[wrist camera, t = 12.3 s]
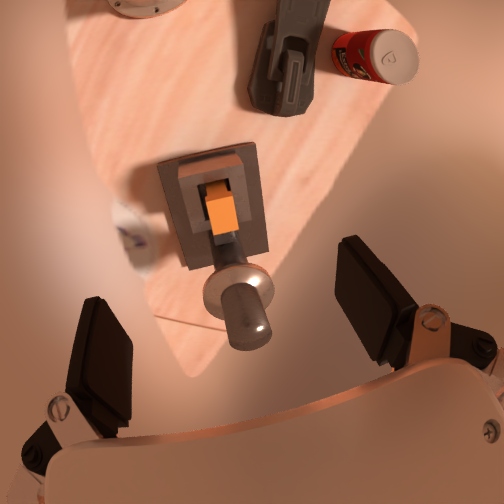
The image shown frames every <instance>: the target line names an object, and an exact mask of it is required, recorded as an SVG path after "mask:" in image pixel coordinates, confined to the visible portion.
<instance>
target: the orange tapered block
mask: <svg viewBox="0 0 504 504" xmlns="http://www.w3.org/2000/svg"><path fill="white" fill-rule="evenodd" d="M205 186H206V191H207V196H206V197H205V200H206V205H207V209H208V213H209V218H210V222H211V226H212V230H213V234H214V235H217V234H222V233H226V232H230V231H235V230H239V227H238V222H237V216H236V211H235V205H234V200H233V195H232V192H231V191H227V188H226V185H225V183H224V180H223V179H221V180H216V181H212V182H207V183H205Z"/></svg>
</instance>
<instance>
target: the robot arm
mask: <svg viewBox="0 0 504 504" xmlns="http://www.w3.org/2000/svg"><path fill="white" fill-rule="evenodd" d="M107 1H108V2H109V4H110V5H111V6H112V7H113V8H114V9H115V10H116V11H117V12H119V13H121V14H123V15H125V16H129V17H133V18H151V17H156V16H160V15H163V14H166V13H169V12H171V11H172V10H174V9H176V8H178V7H179V6H181V5H182V4H184V3H185V2H186V1H187V0H107ZM118 4H121V5H120V6H117V5H118ZM155 10H159V11H158V12H157V13H156V12H155ZM335 296H336V299H337V301H338V303H339V304H340V306H341V307H342V309H343V311H344V313H345V314H346V316H347V318H348V319H349V321H350V323H351V325H352V326H353V328H354V330H355V331H356V333H357V335H358V337H359V338H360V340H361V342H362V344H363V346H364V347H365V349H366V351H367V352H368V354H369V356H370V358H371V359H372V360H373V361H377V363H378V365H379V366H381V365H384V364H386V363H388V362H389V364H390V366H391V367H392V372H391V373H390V374H387V375H385V376H383V377H380V378H378V379H375V380H373V381H370V382H368V383H365V384H363V385H360V386H358V387H355V388H352V389H350V390H347V391H345V392H342V393H339V394H336V395H334V396H331V397H328V398H325V399H322V400H319V401H316V402H313V403H310V404H306V405H303V406H300V407H297V408H294V409H290V410H287V411H283V412H279V413H275V414H272V415H268V416H264V417H260V418H256V419H251V420H247V421H242V422H238V423H233V424H228V425H223V426H218V427H212V428H206V429H201V430H194V431H187V432H179V433H171V434H163V435H152V436H140V437H127V438H121V437H120V436H119V434H118V428H120V427H129V422H128V420H131V415H132V409H131V408H132V400H131V399H132V361H133V344H132V341H131V339H130V338H129V336H128V335H127V333H126V332H125V330H124V329H123V327H122V326H121V324H120V323H119V321H118V320H117V318H116V317H115V315H114V313H113V312H112V310H111V309H110V307H109V306H108V304H107V302H106V301H105V300H104V299H101V298H100V297H99V296H96V297H92V298H87V299H85V301H84V304H83V308H82V311H81V315H80V319H79V323H78V327H77V331H76V336H75V340H74V344H73V349H72V354H71V359H70V364H69V369H68V375H67V381H66V389H65V392H58V393H55V394H53V395H52V396H51V397H50V398H49V399H48V401H47V403H46V405H45V417H46V421H45V422H44V423H43V424H42V425H41V426H40V428H38V429H37V431H36V432H35V433H34V434H33V435H32V436H31V437H30V438H29V439H28V440H27V441H26V442H25V444H24V446H23V448H22V453H21V457H22V461H23V465H21V464H20V465H19V467H18V469H17V472H16V474H15V476H14V479H13V481H12V483H11V486H10V488H9V491H8V494H7V502H8V504H504V348H502V347H501V348H500V349H498V348H497V344H496V342H495V340H494V338H493V337H492V336H491V335H490V334H488V333H486V332H484V331H480V330H477V329H473V328H470V327H466V326H462V325H459V324H455V323H452V322H451V321H450V317H449V315H448V313H447V312H446V311H445V310H444V309H443V308H441V307H440V306H438V305H435V304H425V305H423V306H421V307H419V306H418V305H417V303H416V302H415V301H414V300H413V298H412V297H411V296H410V294H409V293H408V292H407V291H406V289H405V288H404V287H403V286H402V285H401V283H400V282H399V281H398V280H397V278H396V277H395V276H394V275H393V274H392V272H391V271H390V270H389V269H388V268H387V267H386V266H385V264H383V263H382V262H381V261H380V260H379V259H378V258H377V257H376V256H375V254H374V253H373V252H372V251H371V250H370V249H369V248H368V246H367V245H366V244H365V243H364V242H363V241H362V240H361V239H360V237H358V236H357V235H353V236H349V237H345V238H343V239H342V242H340V243H339V244H338V256H337V270H336V281H335Z"/></svg>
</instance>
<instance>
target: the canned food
mask: <svg viewBox="0 0 504 504" xmlns="http://www.w3.org/2000/svg"><path fill="white" fill-rule="evenodd" d="M332 59H333V62H334V64H335V66H336V67H337V69H338V70H339V71H340V72H342V73H343V74H345V75H346V76H348V77H351V78H355V79H362V80H368V81H374V82H380V83H385V84H391V85H405V84H407V83H409V82H411V81H412V80H413V79H414V78H415V76H416V74H417V72H418V69H419V53H418V50H417V48H416V46H415V44H414V42H413V41H412V40H411V38H410V37H409V36H407V35H406V34H405V33H403V32H401V31H398V30H393V29H382V30H370V31H361V32H353V33H347V34H344V35H342V36H341V37H339V38H338V39H337V40H336V41H335V43H334V45H333V47H332Z"/></svg>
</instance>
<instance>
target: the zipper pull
mask: <svg viewBox="0 0 504 504" xmlns="http://www.w3.org/2000/svg"><path fill="white" fill-rule="evenodd" d="M330 1H331V0H277V9H276V20H273V21H270V22H268V23H266V24H265V25H264V27H263V31H262V34H261V38H260V42H259V46H258V50H257V54H256V58H255V62H254V65H253V70H252V73H251V77H250V81H249V84H248V93H249V96H250V99H251V102H252V106H253V107H255V108H257V109H259V110H262V111H264V112H266V113H268V114H270V115H273V116H279V117H291V116H295V115H300V114H304V113H305V111H306V110H307V108H308V106H309V105H310V103H311V102H312V100H313V96H314V69H315V54H316V49H317V45H318V41H319V37H320V34H321V31H322V28H323V24H324V21H325V18H326V14H327V11H328V8H329V4H330Z"/></svg>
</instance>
